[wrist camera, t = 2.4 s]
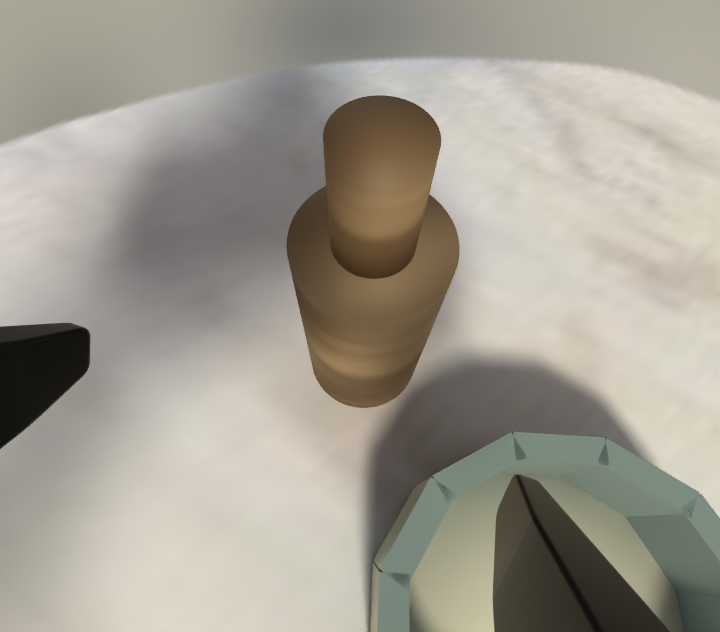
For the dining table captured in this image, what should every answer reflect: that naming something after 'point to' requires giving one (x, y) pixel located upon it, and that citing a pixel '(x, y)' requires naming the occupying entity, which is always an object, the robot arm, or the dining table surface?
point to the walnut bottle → (372, 250)
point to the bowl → (584, 506)
